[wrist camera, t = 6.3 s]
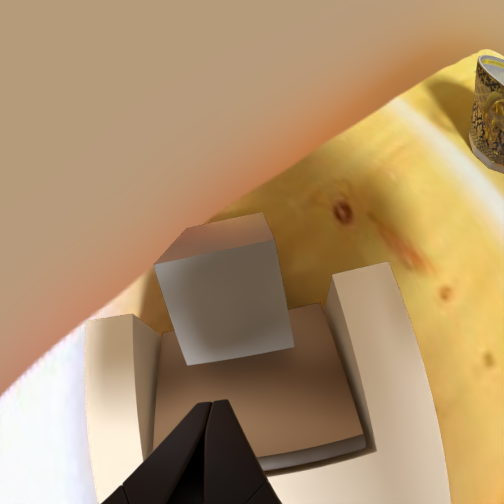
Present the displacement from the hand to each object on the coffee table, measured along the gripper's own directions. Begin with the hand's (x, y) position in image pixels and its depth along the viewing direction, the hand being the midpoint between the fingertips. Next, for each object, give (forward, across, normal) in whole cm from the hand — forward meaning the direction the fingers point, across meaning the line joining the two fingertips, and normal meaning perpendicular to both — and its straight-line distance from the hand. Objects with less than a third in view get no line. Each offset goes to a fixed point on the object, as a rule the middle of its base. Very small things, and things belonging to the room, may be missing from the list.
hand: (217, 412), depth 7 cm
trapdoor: (+6, 0, +4) cm, 7 cm away
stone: (+10, 0, -1) cm, 10 cm away
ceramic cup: (+20, -28, -4) cm, 35 cm away
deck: (+6, 0, +9) cm, 11 cm away
